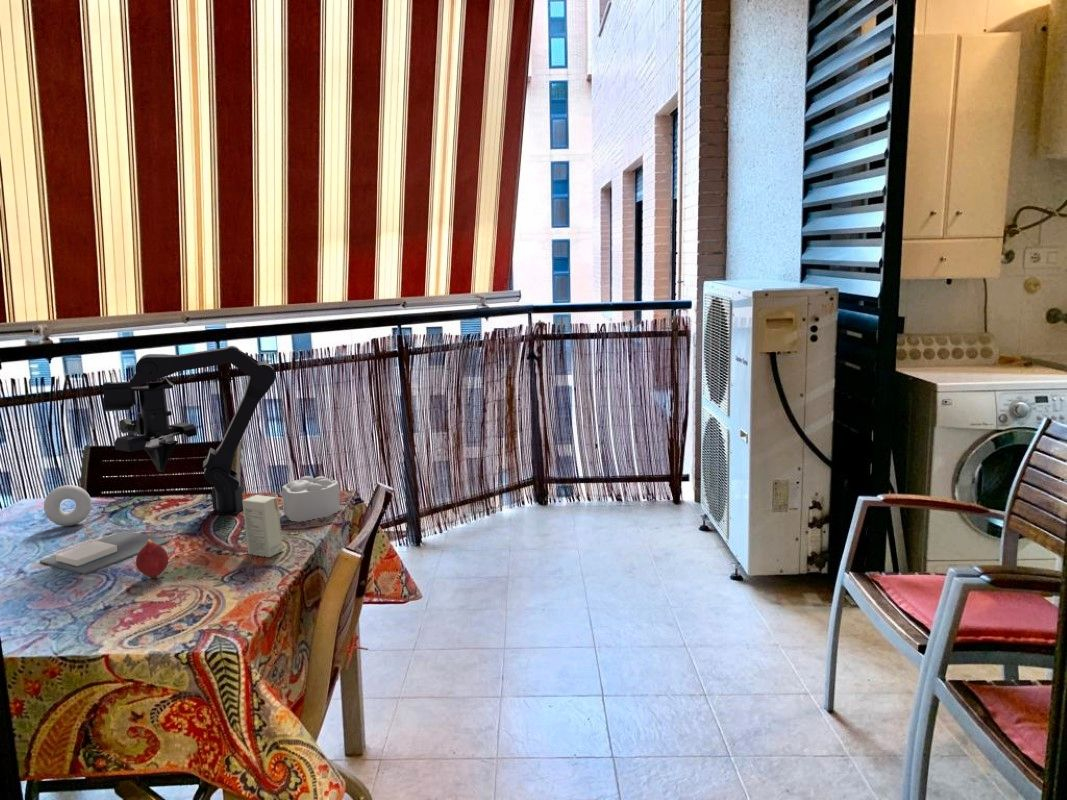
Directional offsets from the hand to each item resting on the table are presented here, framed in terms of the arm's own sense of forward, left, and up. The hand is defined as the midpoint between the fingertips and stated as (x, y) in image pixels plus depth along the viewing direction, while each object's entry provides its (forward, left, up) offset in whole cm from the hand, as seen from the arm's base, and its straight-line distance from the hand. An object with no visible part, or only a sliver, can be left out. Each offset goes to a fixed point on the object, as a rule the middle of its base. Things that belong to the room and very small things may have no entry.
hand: (160, 471), depth 191 cm
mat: (-1, +21, -12) cm, 25 cm away
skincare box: (-36, +16, -12) cm, 41 cm away
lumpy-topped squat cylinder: (-34, -10, -12) cm, 37 cm away
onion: (-21, +32, -12) cm, 40 cm away
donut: (+20, +8, -12) cm, 25 cm away
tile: (0, +26, -11) cm, 28 cm away
